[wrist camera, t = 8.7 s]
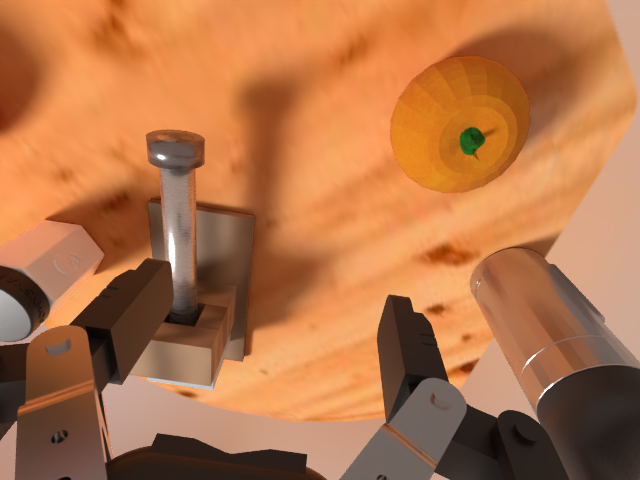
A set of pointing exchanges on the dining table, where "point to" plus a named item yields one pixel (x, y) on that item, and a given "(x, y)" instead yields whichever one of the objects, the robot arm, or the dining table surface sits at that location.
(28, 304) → the jar
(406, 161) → the fruit
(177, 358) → the bearing block
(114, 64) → the dining table surface
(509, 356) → the robot arm
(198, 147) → the shaft
